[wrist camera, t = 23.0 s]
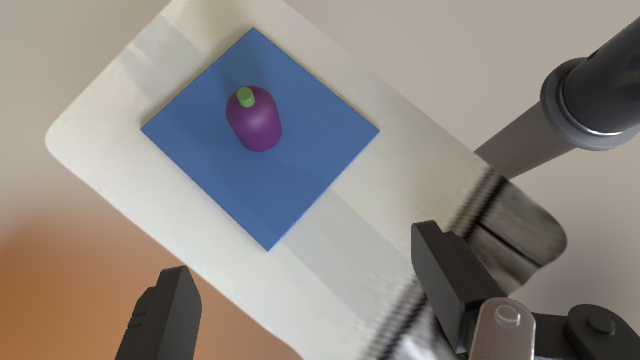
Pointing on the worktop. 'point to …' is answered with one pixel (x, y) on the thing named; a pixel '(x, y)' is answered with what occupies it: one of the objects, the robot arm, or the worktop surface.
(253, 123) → the eggplant
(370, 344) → the worktop surface
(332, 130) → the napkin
